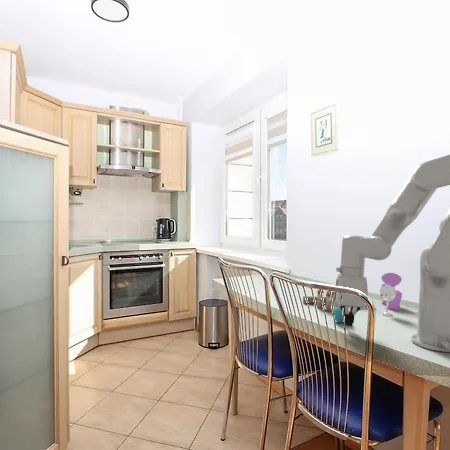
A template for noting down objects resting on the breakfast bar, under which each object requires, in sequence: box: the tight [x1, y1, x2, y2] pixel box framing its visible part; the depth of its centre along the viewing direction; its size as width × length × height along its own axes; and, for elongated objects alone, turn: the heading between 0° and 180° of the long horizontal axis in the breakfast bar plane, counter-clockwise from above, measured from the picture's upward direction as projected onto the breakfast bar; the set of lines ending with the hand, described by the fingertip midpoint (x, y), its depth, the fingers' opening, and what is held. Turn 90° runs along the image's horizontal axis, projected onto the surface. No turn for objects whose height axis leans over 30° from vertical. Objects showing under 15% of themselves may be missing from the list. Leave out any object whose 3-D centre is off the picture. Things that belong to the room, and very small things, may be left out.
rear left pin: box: [316, 289, 325, 310], centre depth 143 cm, size 2×2×8 cm
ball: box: [331, 307, 344, 323], centre depth 123 cm, size 6×6×6 cm
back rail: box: [302, 295, 326, 306], centre depth 149 cm, size 2×16×3 cm, turn 89°
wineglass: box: [379, 283, 396, 317], centre depth 136 cm, size 6×6×12 cm
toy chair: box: [381, 272, 403, 311], centre depth 149 cm, size 8×9×15 cm
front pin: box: [325, 291, 333, 313], centre depth 138 cm, size 2×2×8 cm
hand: (348, 325), depth 114 cm, fingers closed
